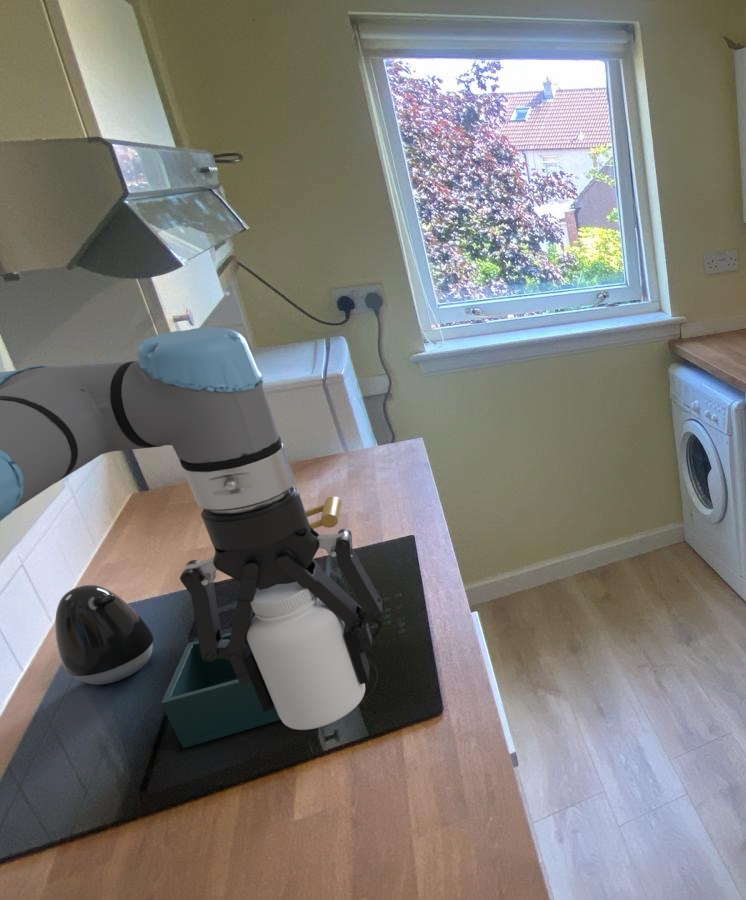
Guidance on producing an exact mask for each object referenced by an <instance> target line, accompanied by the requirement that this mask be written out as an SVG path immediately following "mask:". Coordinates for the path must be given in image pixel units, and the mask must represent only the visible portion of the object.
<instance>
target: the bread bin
mask: <svg viewBox="0 0 746 900" xmlns="http://www.w3.org/2000/svg"><path fill="white" fill-rule="evenodd" d="M230 636H231V632H227V633H223V634H222V640H230ZM248 645H249V643H248V640H247V641H246V646H248ZM160 704H161V707H162V709H163V710H164V712H165V715H166V717H167V718H168V721H169V722H170V725H171V726H172V729H173V731H174V733H175V735H176V736H177V739H178V741H179V743H180V745H181V747H182V749H186V748H191V747H194V746H198V745H200V744H203V743H206V742H210V741H213V740H217V739H220V738H224V737H226V736H227V737H228V736H230V735H234V734H237V733H240V732H244V731H247V730H251V729H255V728H257V727H261V726H265V725H269V724H271V723H275V722H278V721H282V720H281V719H280V717H279V715H278V713H277V710H276V708H275V706H273V709H272V710H268V711H265V712H264V711H263V708H262V706H261V703H260V701H259V699H258V696H257V694H256V691H255V689H254V686H253V684H252V683H248V684H244V685H243V684H241V683H240V682H239V681H238V678H237V676H236V673H235V671H234V669H233V666H232V664H231V662H230V661H229V660H227V659H223V658H216V659H215V660H214V661H204V660H203V659H202V657H201V651H200V645H199V640H195V641H191V642H187V643H186V646H185V648H184V650H183V652H182V655H181V657H180V659H179V662H178V664H177V666H176V668H175V671H174V673H173V675H172V677H171V680H170V681H169V684H168V687H167V689H166V691H165V693H164V695H163V697H162V700H161V702H160Z"/></svg>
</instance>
